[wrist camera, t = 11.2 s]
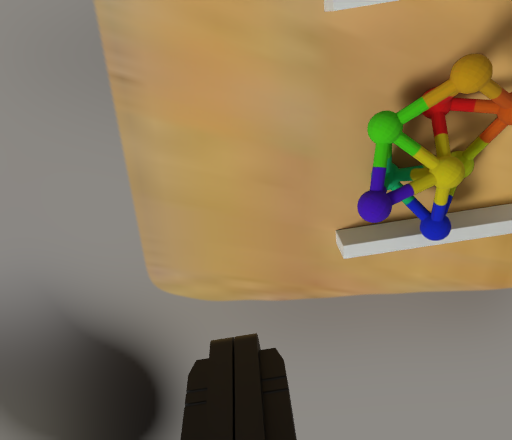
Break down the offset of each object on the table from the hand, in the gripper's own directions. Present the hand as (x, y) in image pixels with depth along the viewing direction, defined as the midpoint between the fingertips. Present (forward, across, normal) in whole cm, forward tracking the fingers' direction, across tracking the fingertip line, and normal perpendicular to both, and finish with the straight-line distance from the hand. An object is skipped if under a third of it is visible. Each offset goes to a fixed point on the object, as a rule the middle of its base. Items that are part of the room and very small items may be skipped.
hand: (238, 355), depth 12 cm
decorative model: (+25, -16, +3) cm, 30 cm away
